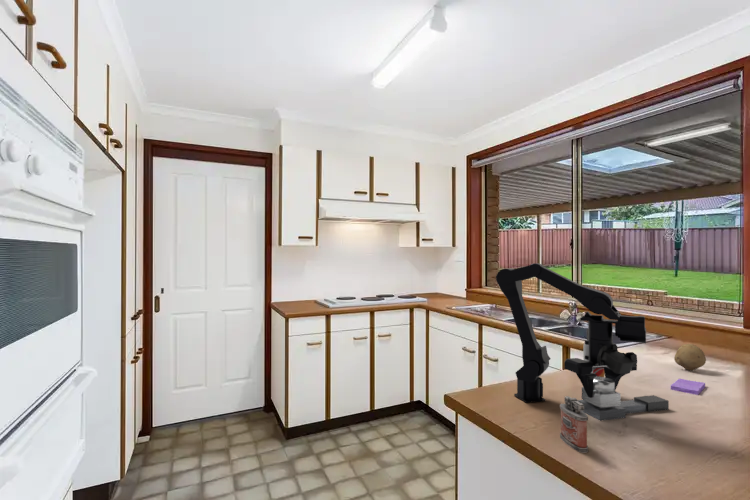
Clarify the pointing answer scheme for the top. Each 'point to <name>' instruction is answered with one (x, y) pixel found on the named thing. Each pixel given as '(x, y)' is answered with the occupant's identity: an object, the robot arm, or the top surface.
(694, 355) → the potato
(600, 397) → the grey square-based fixture
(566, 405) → the lighter
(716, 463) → the top surface
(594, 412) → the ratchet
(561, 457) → the top surface
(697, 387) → the sponges
